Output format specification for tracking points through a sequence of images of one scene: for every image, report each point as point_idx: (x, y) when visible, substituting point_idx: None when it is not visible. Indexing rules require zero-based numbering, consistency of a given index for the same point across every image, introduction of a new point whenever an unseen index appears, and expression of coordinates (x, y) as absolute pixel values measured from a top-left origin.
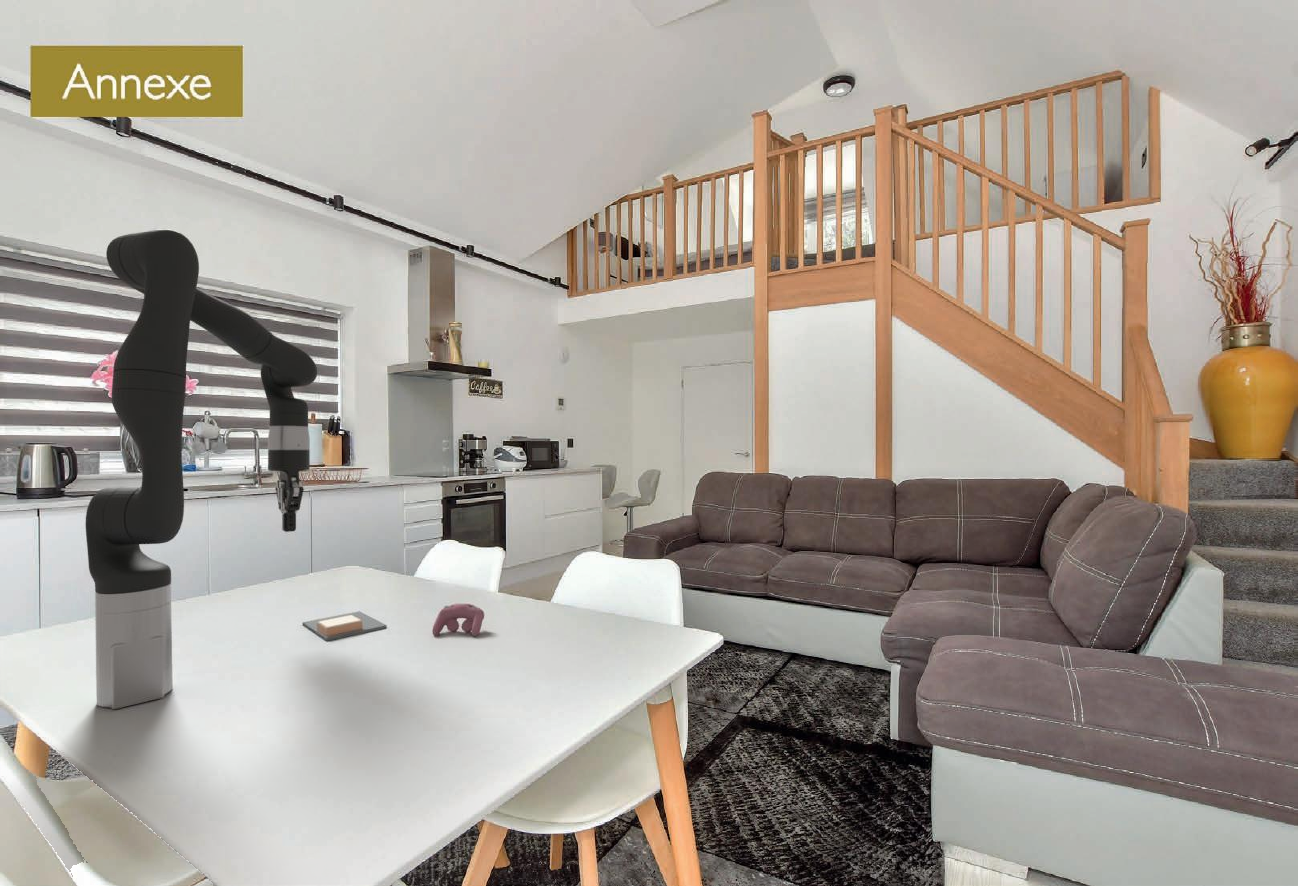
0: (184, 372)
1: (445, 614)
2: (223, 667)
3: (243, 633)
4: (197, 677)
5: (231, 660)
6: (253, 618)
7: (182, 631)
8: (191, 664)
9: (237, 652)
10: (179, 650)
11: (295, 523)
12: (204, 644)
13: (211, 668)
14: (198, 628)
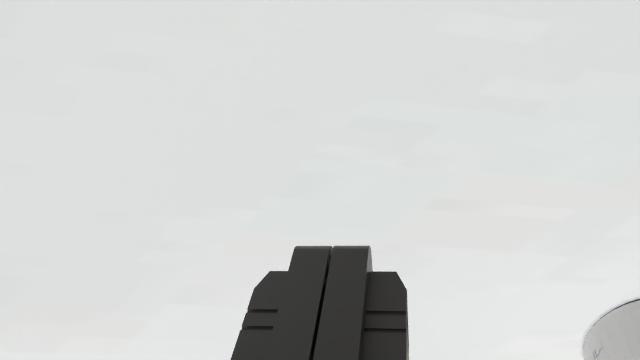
0: None
1: None
2: (596, 201)
3: (239, 121)
4: (629, 252)
5: (542, 179)
6: (37, 72)
7: (110, 244)
8: (490, 252)
9: (467, 158)
10: None
11: (365, 295)
12: (301, 215)
13: (576, 222)
14: (95, 212)
